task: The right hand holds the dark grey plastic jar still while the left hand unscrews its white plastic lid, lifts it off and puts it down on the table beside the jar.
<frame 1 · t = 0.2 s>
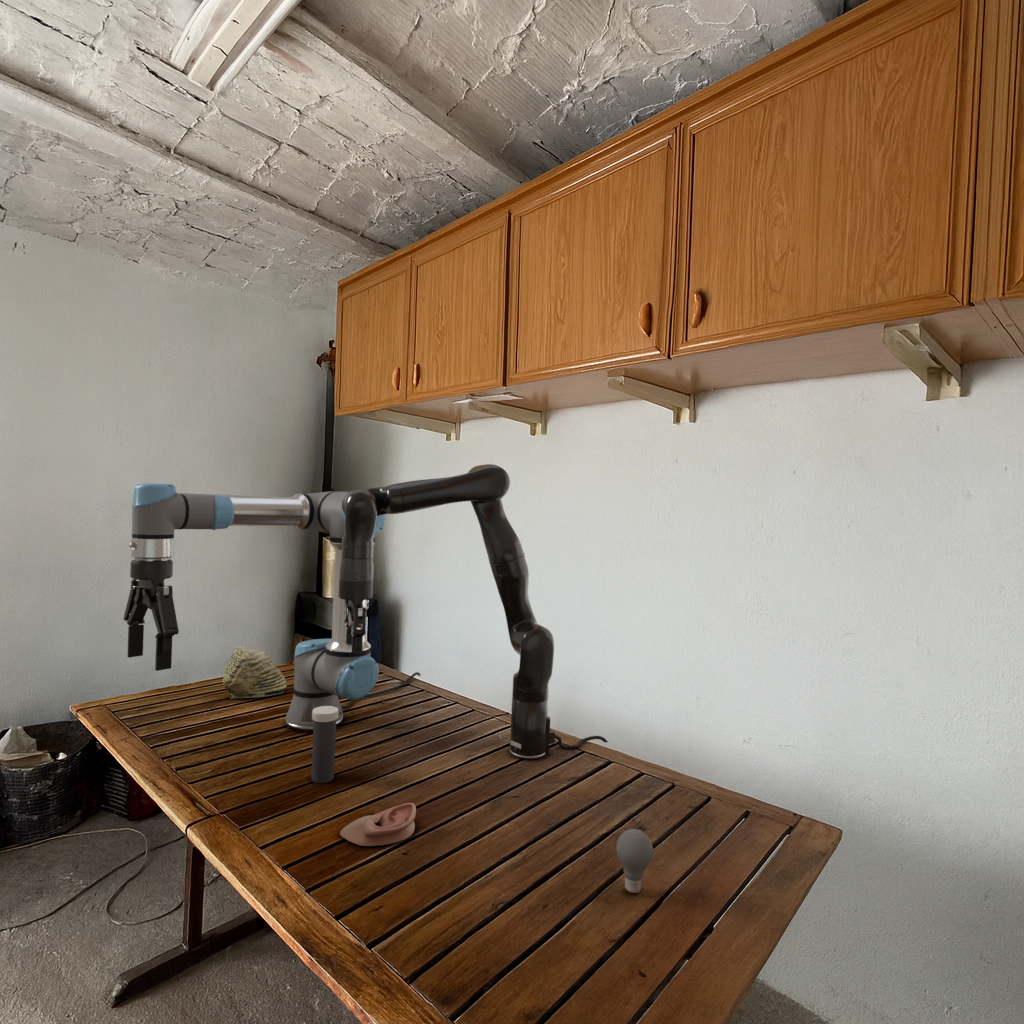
left hand: (148, 662, 129), 28 cm above the table, tool pointing down, fingers open, 13 cm apart
right hand: (353, 648, 144), 29 cm above the table, tool pointing down, fingers open, 8 cm apart
lid: (325, 711, 142), point 15 cm above the table, screwed on, not yet turned
jar: (322, 778, 142), on the table
light bulb: (632, 891, 106), on the table
fossil: (254, 694, 198), on the table
anatomical model: (378, 832, 121), on the table
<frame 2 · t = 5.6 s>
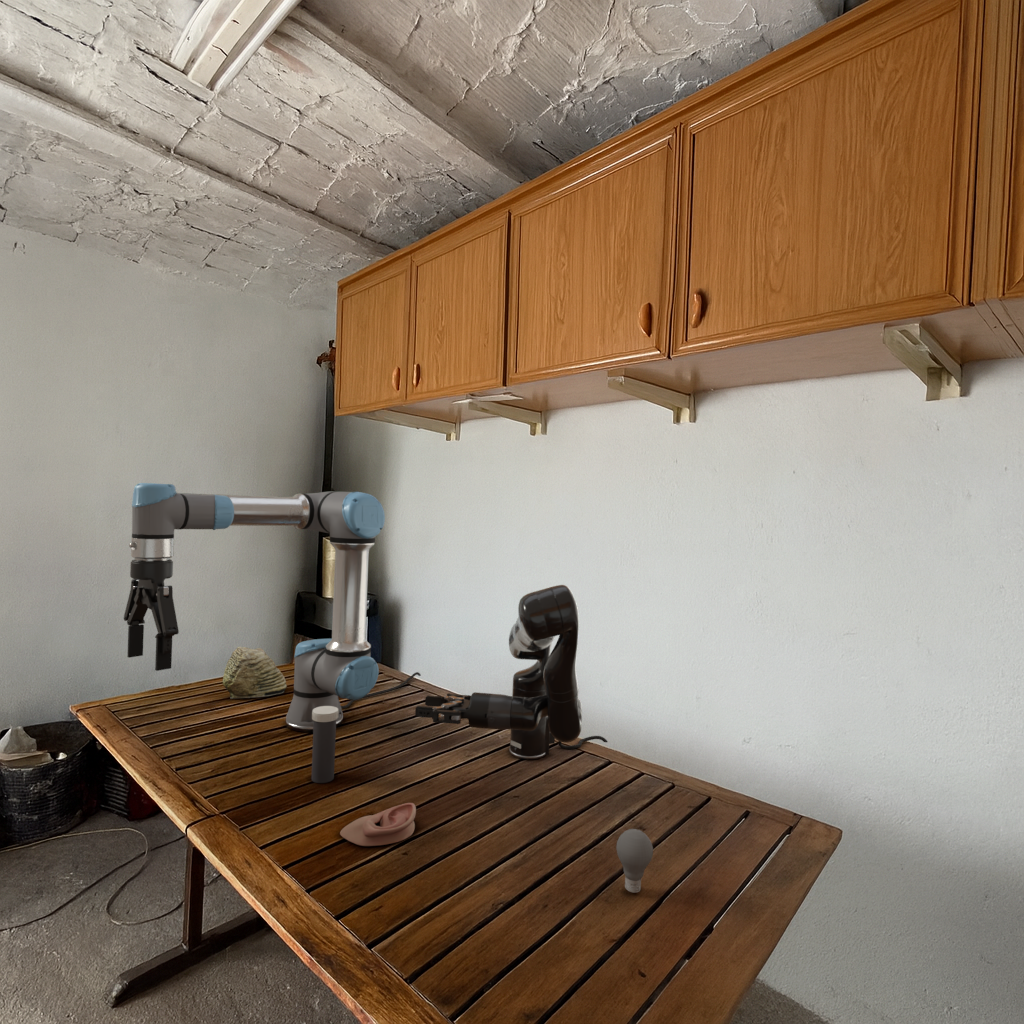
left hand: (148, 662, 129), 28 cm above the table, tool pointing down, fingers open, 13 cm apart
right hand: (420, 705, 143), 17 cm above the table, tool horizontal, fingers open, 8 cm apart
nothing on the table moved.
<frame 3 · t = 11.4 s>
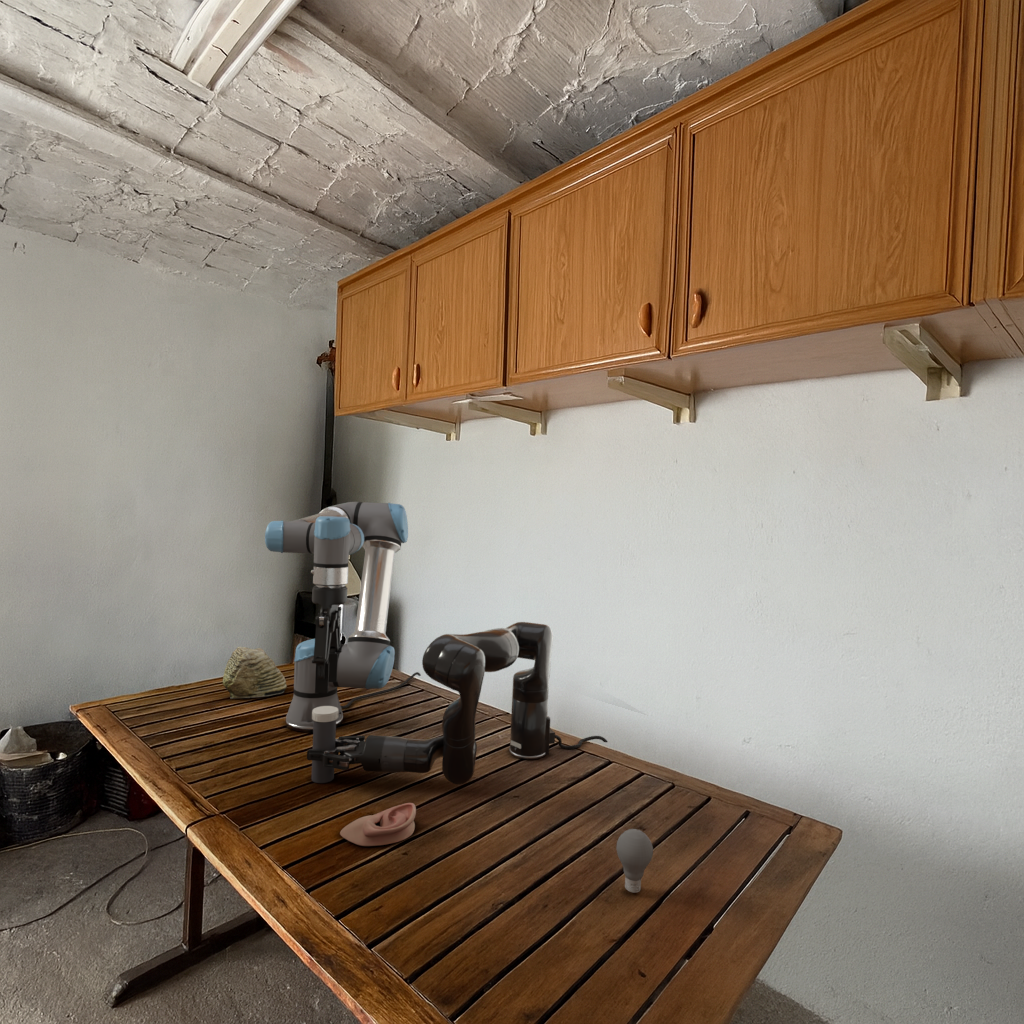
left hand: (326, 686, 142), 21 cm above the table, tool pointing down, fingers open, 8 cm apart
right hand: (312, 749, 142), 6 cm above the table, tool horizontal, fingers closed on jar, 5 cm apart
jar: (322, 778, 142), on the table, touching right hand
everything else where it was.
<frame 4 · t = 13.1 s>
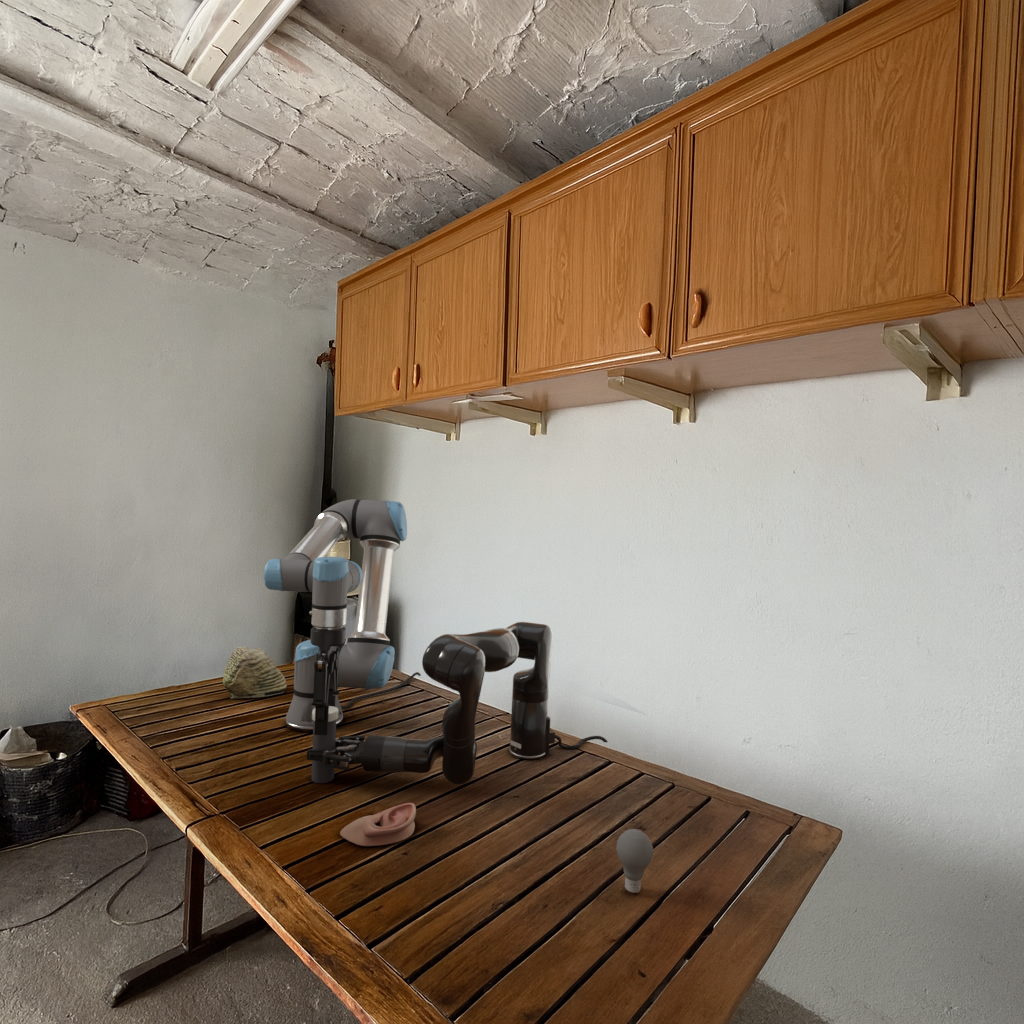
left hand: (324, 728, 142), 11 cm above the table, tool pointing down, fingers closed on lid, 6 cm apart
right hand: (312, 749, 142), 6 cm above the table, tool horizontal, fingers closed on jar, 5 cm apart
lid: (325, 711, 142), point 15 cm above the table, screwed on, not yet turned, touching left hand
jar: (322, 778, 142), on the table, touching right hand
everything else where it was.
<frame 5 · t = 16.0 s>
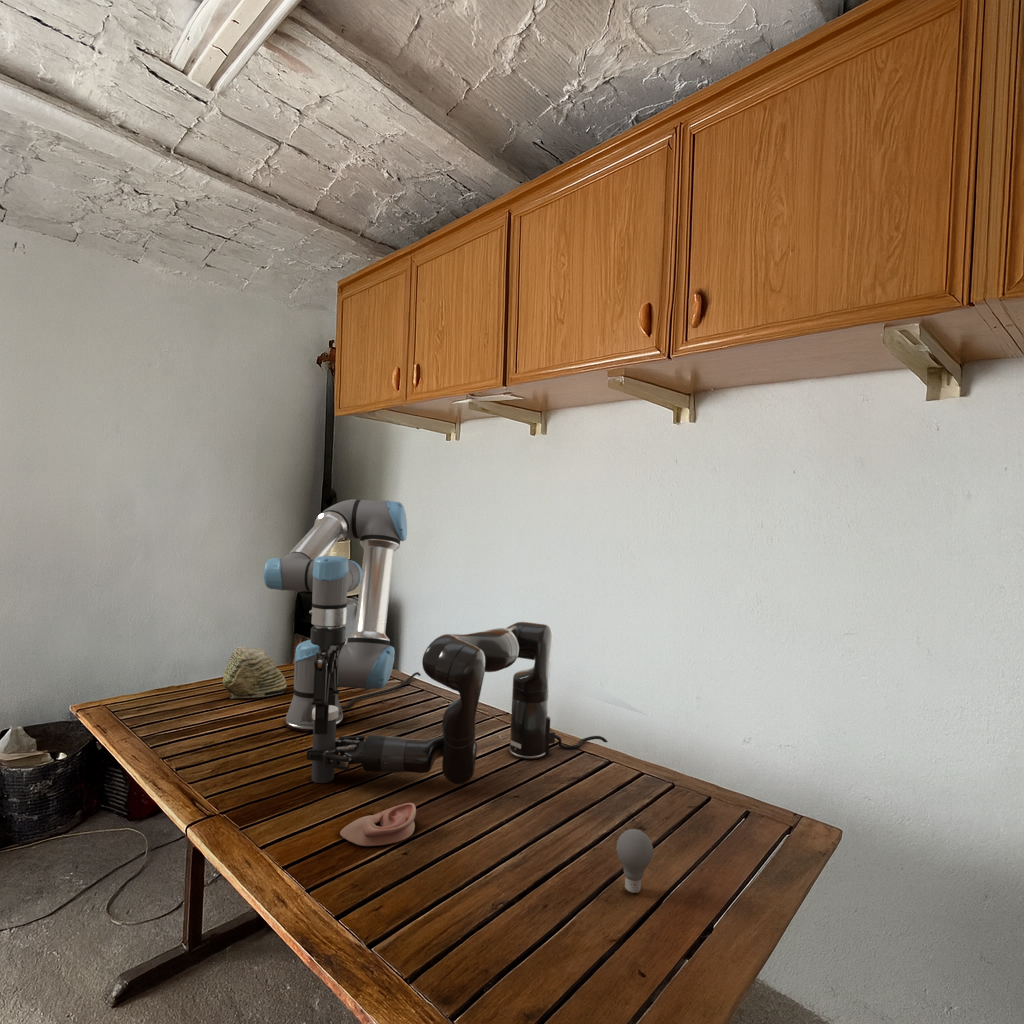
left hand: (324, 728, 142), 11 cm above the table, tool pointing down, fingers closed on lid, 6 cm apart
right hand: (312, 749, 142), 6 cm above the table, tool horizontal, fingers closed on jar, 5 cm apart
lid: (325, 710, 142), point 15 cm above the table, turned 59° so far, risen 0.2 cm, still on its thread, touching left hand
jar: (322, 778, 142), on the table, touching right hand
everything else where it was.
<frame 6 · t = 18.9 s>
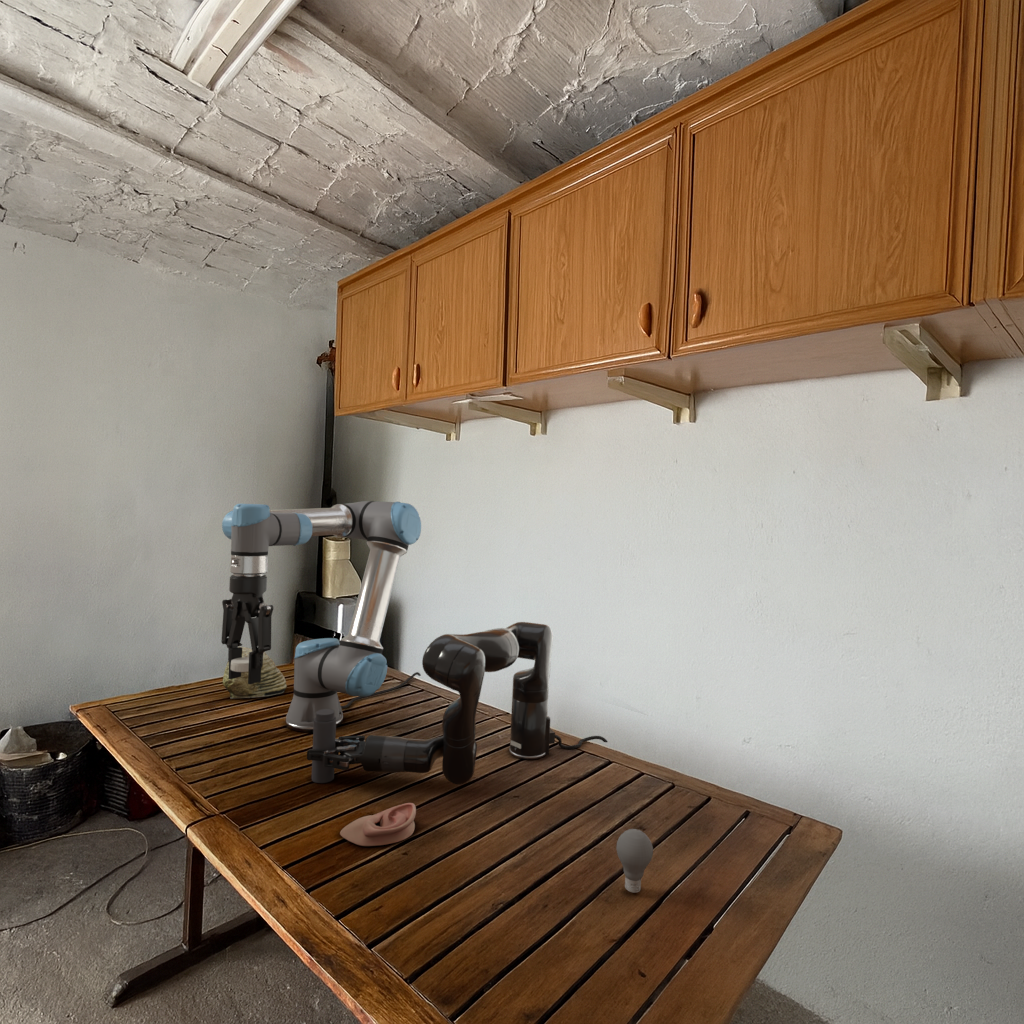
left hand: (244, 679, 138), 23 cm above the table, tool pointing down, fingers closed on lid, 6 cm apart
right hand: (312, 749, 142), 6 cm above the table, tool horizontal, fingers closed on jar, 5 cm apart
lid: (245, 661, 138), point 27 cm above the table, off its thread, touching left hand
jar: (322, 778, 142), on the table, touching right hand
everything else where it was.
when the left hand's fingers open (0 cm above the table, at t = 21.8 s): lid drops 3 cm, point 1 cm above the table.
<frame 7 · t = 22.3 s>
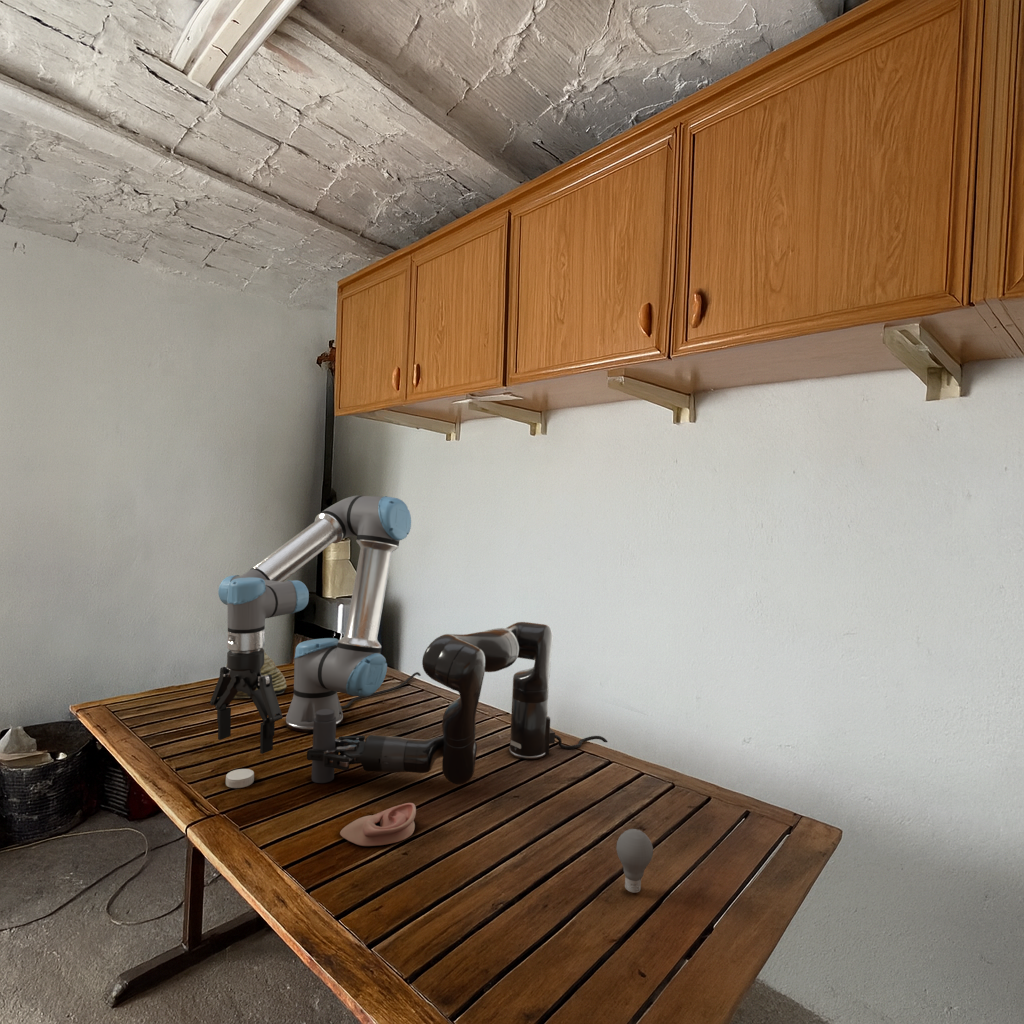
left hand: (244, 744, 139), 8 cm above the table, tool pointing down, fingers open, 13 cm apart
right hand: (312, 749, 142), 6 cm above the table, tool horizontal, fingers closed on jar, 5 cm apart
lid: (240, 775, 139), point 1 cm above the table, off its thread
jar: (322, 778, 142), on the table, touching right hand
everything else where it was.
when the right hand's fingers open (6 cm above the table, at t = 22.4 s): jar stays where it is, on the table.
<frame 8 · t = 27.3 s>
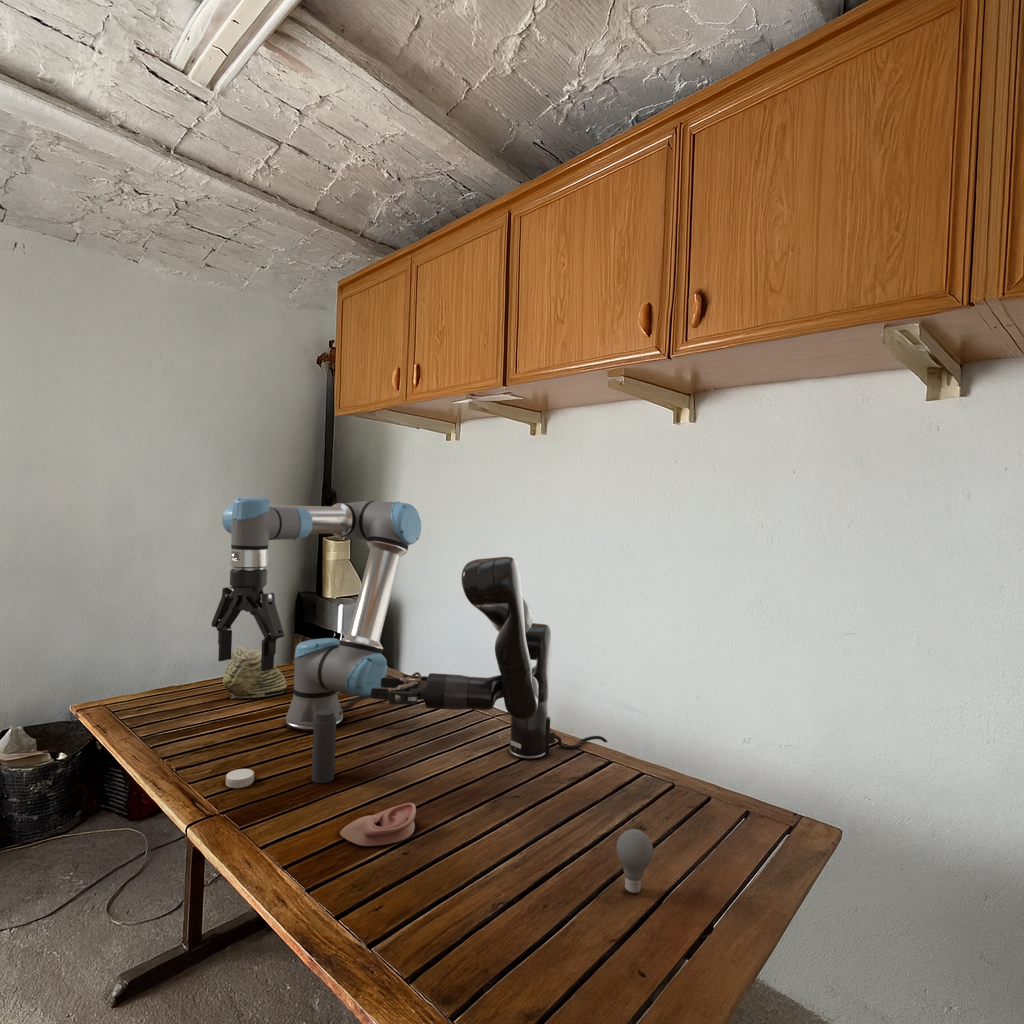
left hand: (245, 665, 139), 26 cm above the table, tool pointing down, fingers open, 13 cm apart
right hand: (376, 687, 141), 21 cm above the table, tool horizontal, fingers open, 8 cm apart
jar: (322, 778, 142), on the table
everything else where it was.
at the end: lid came off its thread; lid point 1.5 cm above the table; the left hand is holding nothing; the right hand is holding nothing; jar tilted 0°; jar moved 0.0 cm from its start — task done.
